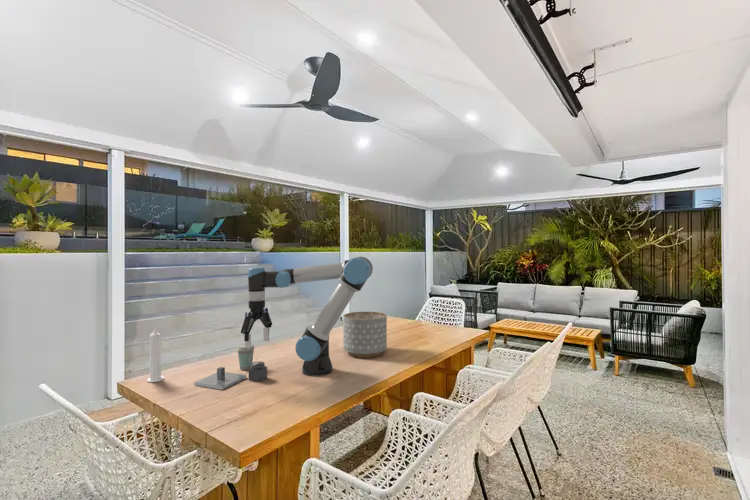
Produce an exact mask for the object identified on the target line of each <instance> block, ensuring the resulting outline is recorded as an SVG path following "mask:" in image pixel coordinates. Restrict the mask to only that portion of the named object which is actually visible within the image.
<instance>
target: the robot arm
mask: <svg viewBox="0 0 750 500" xmlns="http://www.w3.org/2000/svg"><path fill="white" fill-rule="evenodd" d="M373 269H374V268H373V264H372V262H371V261H370V260H369V259H368V258H367V257H365V256H357V257H353V258H350V259H346V260H344V261H343V262H339V263H331V264H322V265H314V266H306V267H297V268H296V267H295V268H290V269H289V268H286V269H283V270H278V271H277V270H276V271H265V270H266V269H265V268H264V267H263V266H262V267H260V266H258V267H257V266H256V267H250V268H249V269H248V270H247V271H248V274H247V275H248V276H247V278H248V279H247V282H248V284H247V285H248V309H249V311H246V312H245V314H244V320H243V323H242V326H241V330H240V333H241V334H242V335H243V337H244V339H243V340H244V344H245V348H251V344H252V336H251V335H252V334H251V332H252V331H251V330H252V329H253V327H254V324H255V322H256V321H258V320H260V322H261V323H262V325H263V326H264V327H263V341H264V342H269V341H270V328H272V326H273V322H272V319H271V317H270V313H269V309H268V307H266V300H265V299H266V288H280V289H282V288H289V287H290V285H295V284H301V283H310V282H311V283H312V282H319V281H320V282H321V281H329V280H330V281H331V280H337V279H339V282H338V284H337V286H336V287H335V289H334V290H333V292H332V294H331V295H330V297H329V299H328V300H327V302H326V303H325V305H324V307H323V308H322V309H321V311H320V313H319V314H318V316H317V318H316V319H315V321H314V322H313V324H310V325H306V327H305V330H304V332H303V334H302V336H301V337H300V338H298V339H297V341H296V344H295V346H294V347H295V352H296V355H297V357H299V359H301V360H302V361H303V364H302V369H301V370H302V374H304V375H306V376H311V377H319V376H325V375H329V374H331V373H332V372H333V363H332V360H331V357H330V332H331V331H332V330H333V328H334V327H335V325H336V323H337V322H338V321H339V318H340V317H341V316H342V314H343V312H344V311H345V309H346V308H347V306H348V304H349V303H350V302H351V299H352V298H353V297H354V295H355V293H356V292H361V290H362V288H363V287H364V286H365V284H366V282H367V280H368V279H369V278H370V277H371V276H372V273H373Z"/></svg>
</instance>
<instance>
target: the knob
mask: <svg viewBox="0 0 750 500" xmlns="http://www.w3.org/2000/svg"><path fill="white" fill-rule="evenodd" d="M266 379H268V366H266V365H265V361H253V362H252V363H251V368H249V370H248V381H250V382H258V383H260V382H262V381H264V380H266Z"/></svg>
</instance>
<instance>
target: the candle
mask: <svg viewBox="0 0 750 500" xmlns="http://www.w3.org/2000/svg"><path fill="white" fill-rule="evenodd" d="M161 340H162V339H161V333H159V332H158V331H157V328H156V327H154V328H153V331H152V332H151V333H150V334H149V377H148V378H147V379H146V382H147V383H159V382H162V381H163V380H165V376H163V375H162V358H161V357H162V354H161V353H162V352H161V350H162V348H161Z"/></svg>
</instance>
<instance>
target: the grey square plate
mask: <svg viewBox="0 0 750 500" xmlns="http://www.w3.org/2000/svg"><path fill="white" fill-rule="evenodd" d="M245 379H247V375H246V374H242V373H234V372H227V371H226V367H224V366H220V367H218V368H216V372H215V373H213V374H211V375H208V376H206V377H202V378H201V379H198V380H196V381H194V383H193V385H194V386H196V387H202V388H208V389H215V390H221V391H224V390H225V389H227V388H230V387H231V386H234V385H235V384H237V383H240V382H241V381H244V380H245Z"/></svg>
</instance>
